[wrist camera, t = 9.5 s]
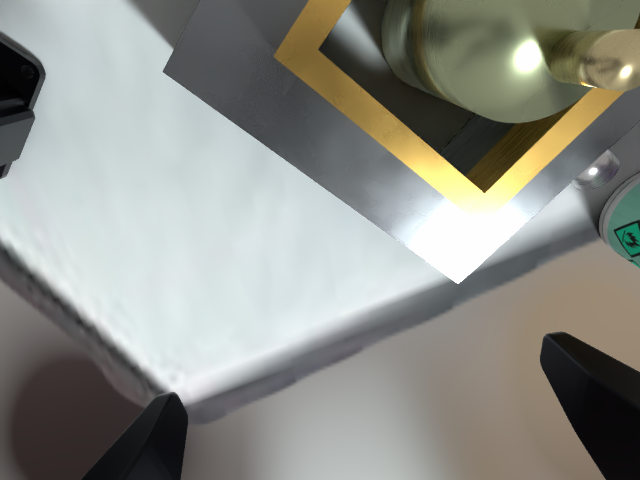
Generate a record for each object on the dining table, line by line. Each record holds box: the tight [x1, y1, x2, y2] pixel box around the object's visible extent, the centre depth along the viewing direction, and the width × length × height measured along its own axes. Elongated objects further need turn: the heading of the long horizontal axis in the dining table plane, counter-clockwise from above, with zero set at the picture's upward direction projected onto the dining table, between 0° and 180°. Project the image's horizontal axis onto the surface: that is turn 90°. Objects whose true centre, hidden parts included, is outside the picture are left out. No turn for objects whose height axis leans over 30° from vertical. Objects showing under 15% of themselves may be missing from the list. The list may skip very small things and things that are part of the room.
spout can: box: [381, 0, 640, 123], centre depth 12 cm, size 5×5×10 cm
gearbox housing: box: [163, 0, 640, 283], centre depth 14 cm, size 18×16×6 cm
